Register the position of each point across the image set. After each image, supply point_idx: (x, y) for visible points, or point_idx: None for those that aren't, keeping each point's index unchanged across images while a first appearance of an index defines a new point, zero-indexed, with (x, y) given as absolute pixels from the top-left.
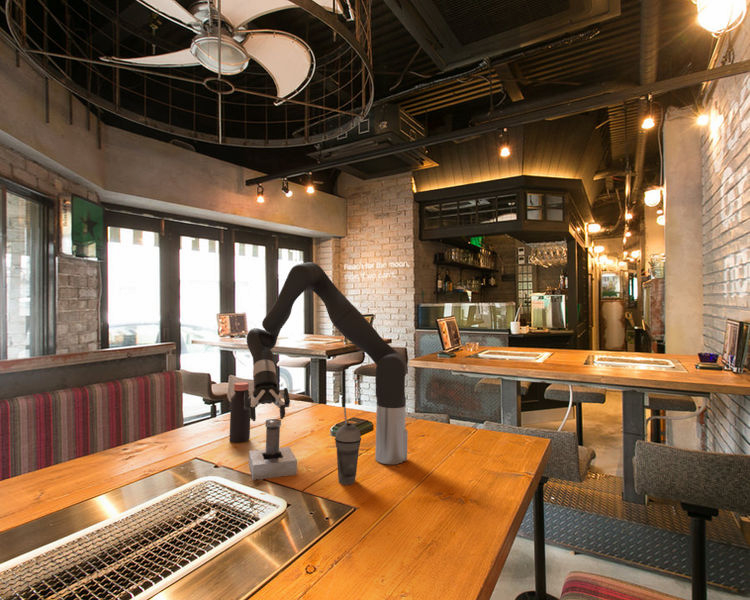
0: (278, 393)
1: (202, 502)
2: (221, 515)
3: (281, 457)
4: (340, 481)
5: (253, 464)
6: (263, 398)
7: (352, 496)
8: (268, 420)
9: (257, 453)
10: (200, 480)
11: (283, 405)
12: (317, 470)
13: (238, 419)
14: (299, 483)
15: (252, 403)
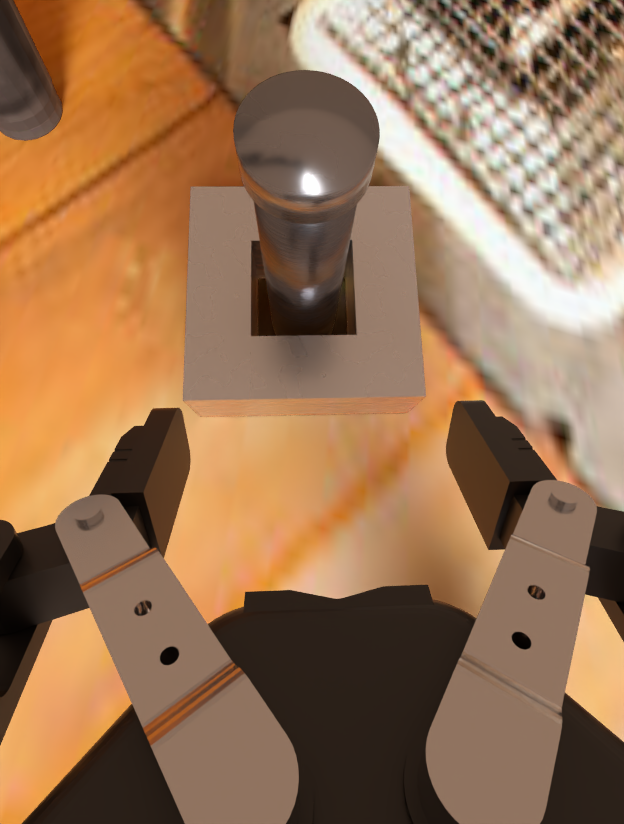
0: (45, 799)
1: (564, 113)
2: (494, 22)
3: (252, 305)
4: (56, 94)
5: (407, 197)
6: (418, 623)
7: (63, 7)
8: (350, 154)
9: (380, 339)
10: (605, 292)
11: (93, 501)
12: (104, 246)
13: None
14: (215, 150)
15: (582, 525)
